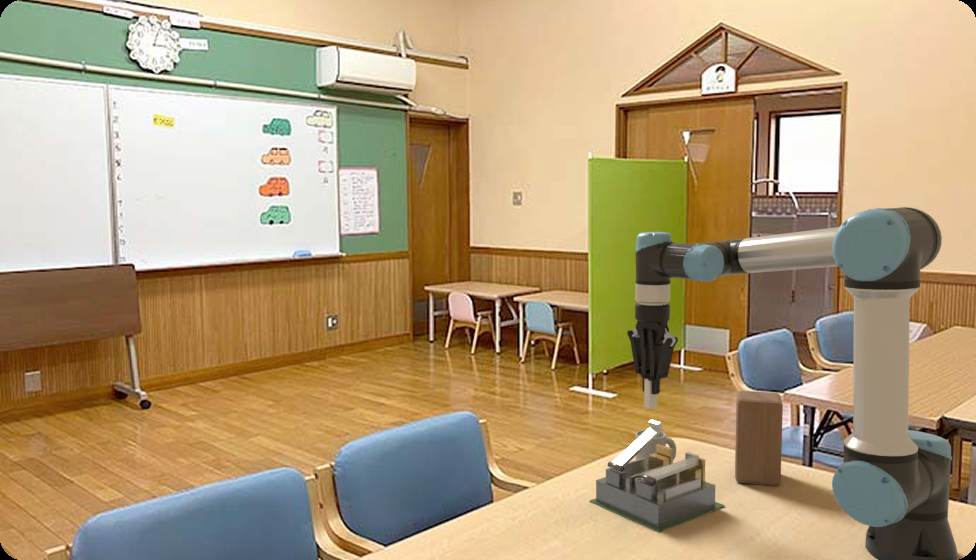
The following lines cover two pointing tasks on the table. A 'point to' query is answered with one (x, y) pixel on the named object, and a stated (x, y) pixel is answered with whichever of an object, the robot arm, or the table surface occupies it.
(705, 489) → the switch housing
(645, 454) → the cup
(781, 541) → the table surface
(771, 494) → the table surface
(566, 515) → the table surface
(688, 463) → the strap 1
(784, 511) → the table surface
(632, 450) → the silver long flat bar
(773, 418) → the wooden block
